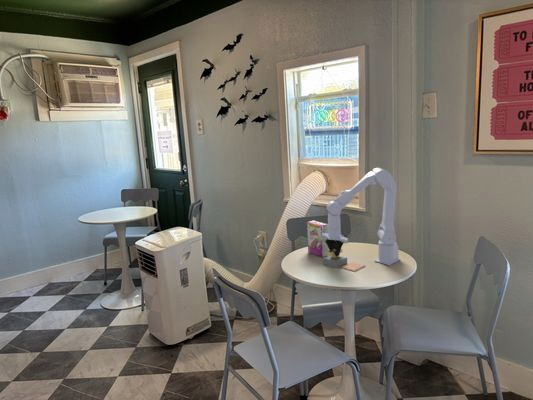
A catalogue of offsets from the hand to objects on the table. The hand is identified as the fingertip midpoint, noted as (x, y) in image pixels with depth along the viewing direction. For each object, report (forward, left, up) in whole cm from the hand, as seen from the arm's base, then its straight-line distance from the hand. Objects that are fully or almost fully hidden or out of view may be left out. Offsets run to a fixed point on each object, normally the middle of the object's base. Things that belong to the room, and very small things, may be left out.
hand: (334, 254), depth 182 cm
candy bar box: (-5, -15, -5) cm, 16 cm away
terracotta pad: (-2, +9, -4) cm, 10 cm away
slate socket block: (0, 0, -4) cm, 4 cm away
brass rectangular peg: (0, 0, -4) cm, 4 cm away
